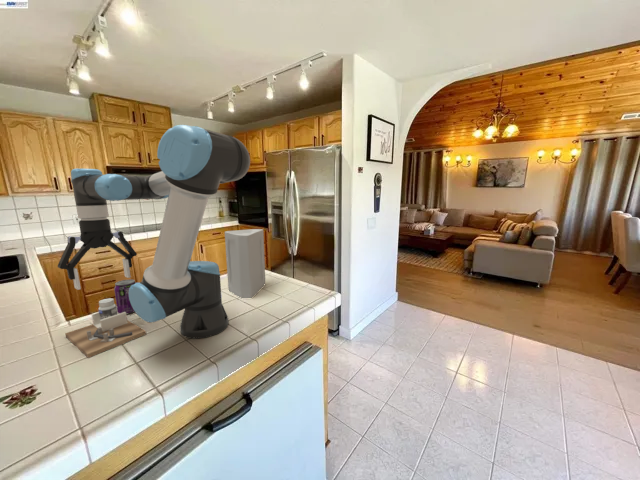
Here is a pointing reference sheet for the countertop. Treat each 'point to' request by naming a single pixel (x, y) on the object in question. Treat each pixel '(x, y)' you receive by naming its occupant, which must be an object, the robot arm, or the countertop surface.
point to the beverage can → (123, 296)
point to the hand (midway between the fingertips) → (104, 282)
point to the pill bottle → (107, 308)
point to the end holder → (109, 321)
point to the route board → (95, 346)
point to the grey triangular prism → (245, 261)
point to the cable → (112, 336)
